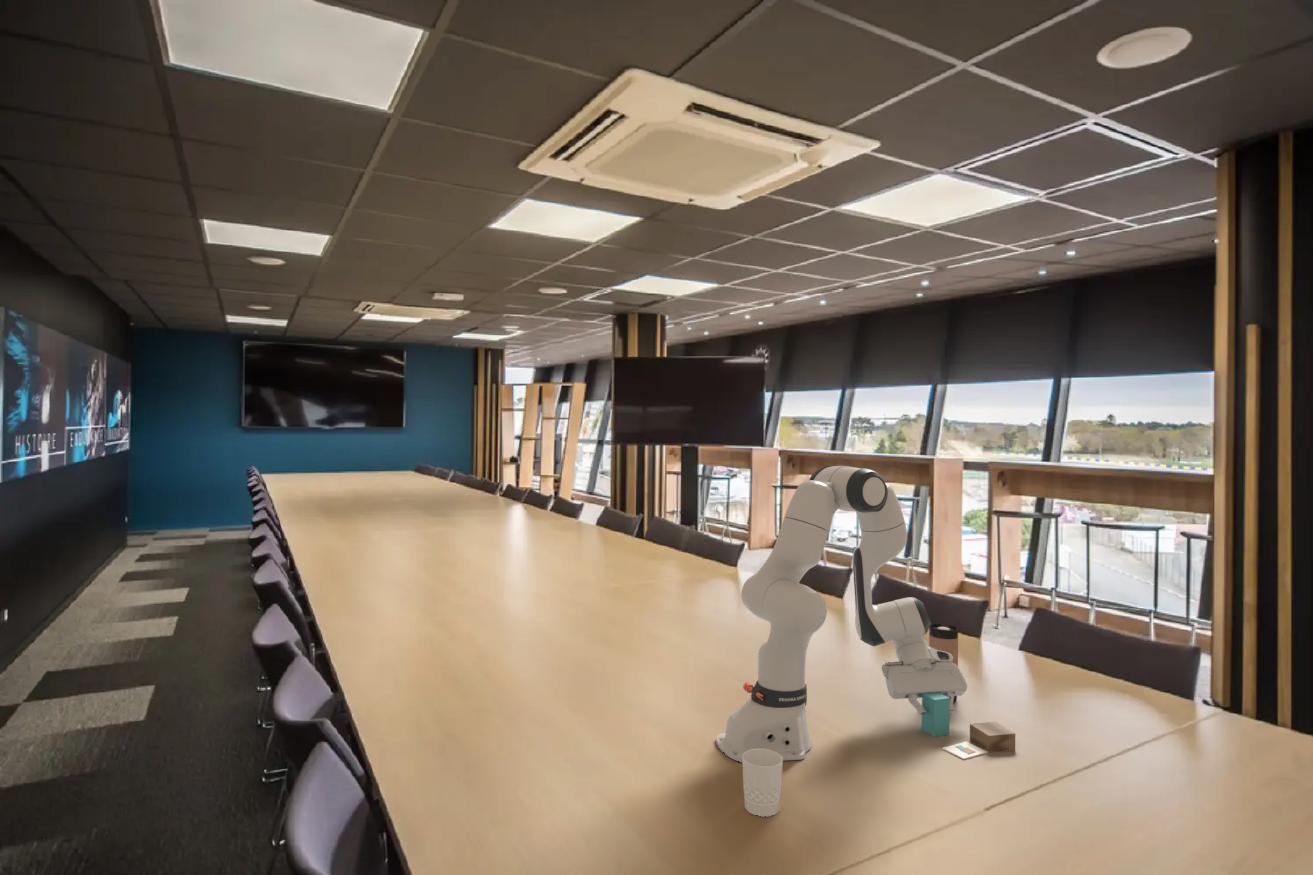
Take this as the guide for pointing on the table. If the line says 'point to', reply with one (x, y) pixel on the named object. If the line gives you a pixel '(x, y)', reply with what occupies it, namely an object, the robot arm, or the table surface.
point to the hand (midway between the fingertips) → (937, 712)
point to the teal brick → (936, 714)
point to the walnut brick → (992, 736)
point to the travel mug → (944, 640)
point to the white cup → (762, 781)
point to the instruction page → (965, 750)
